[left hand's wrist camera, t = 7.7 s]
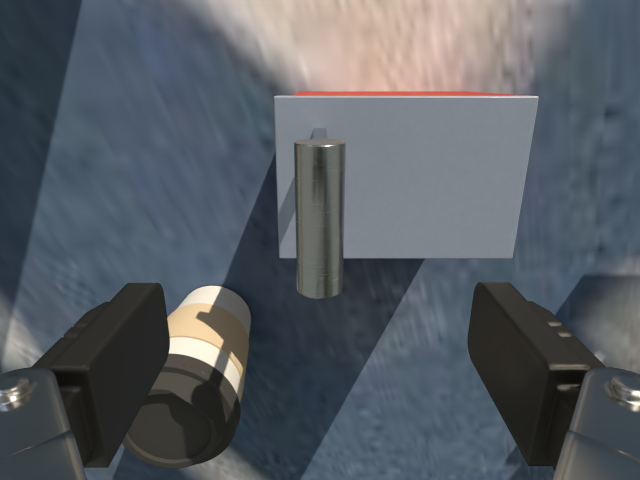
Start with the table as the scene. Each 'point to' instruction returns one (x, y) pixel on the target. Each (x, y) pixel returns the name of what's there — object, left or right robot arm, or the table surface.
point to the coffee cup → (196, 383)
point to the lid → (397, 179)
